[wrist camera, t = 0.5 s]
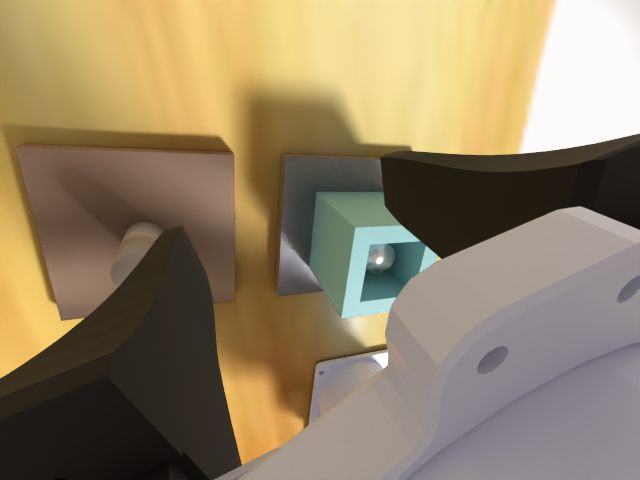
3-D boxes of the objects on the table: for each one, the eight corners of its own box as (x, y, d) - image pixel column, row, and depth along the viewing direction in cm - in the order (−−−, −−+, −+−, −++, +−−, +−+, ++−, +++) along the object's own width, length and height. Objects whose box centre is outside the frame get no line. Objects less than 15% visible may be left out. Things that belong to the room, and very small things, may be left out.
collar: (377, 261, 26) (423, 306, 21) (309, 267, 24) (341, 318, 19) (391, 191, 24) (446, 223, 19) (316, 191, 22) (355, 227, 17)
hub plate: (233, 293, 24) (243, 339, 20) (66, 310, 21) (34, 371, 16) (232, 151, 20) (243, 172, 16) (23, 143, 16) (-34, 167, 12)
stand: (390, 276, 28) (429, 316, 24) (274, 288, 25) (294, 337, 20) (415, 158, 24) (469, 178, 20) (281, 153, 21) (308, 175, 16)
